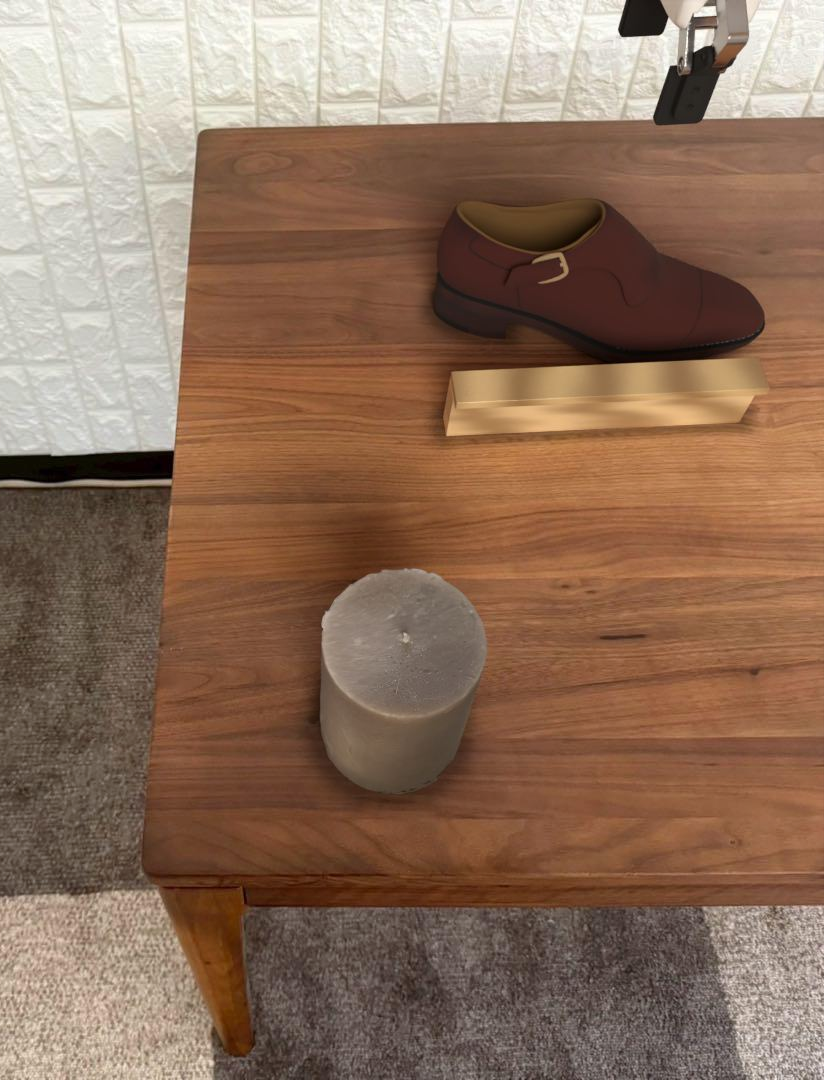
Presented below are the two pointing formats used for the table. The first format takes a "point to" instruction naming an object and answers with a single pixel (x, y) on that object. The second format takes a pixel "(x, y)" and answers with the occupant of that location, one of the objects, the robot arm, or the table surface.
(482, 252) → the dress shoe
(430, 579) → the pillar candle
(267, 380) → the table surface
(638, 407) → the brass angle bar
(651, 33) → the robot arm
